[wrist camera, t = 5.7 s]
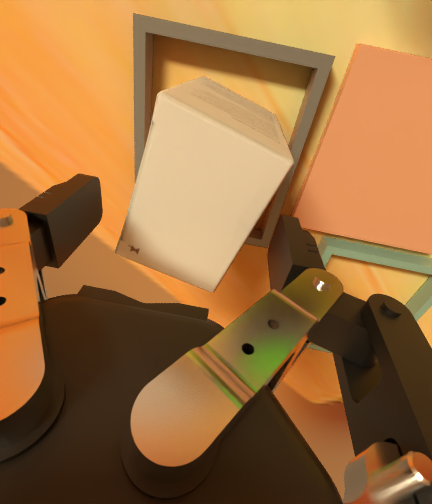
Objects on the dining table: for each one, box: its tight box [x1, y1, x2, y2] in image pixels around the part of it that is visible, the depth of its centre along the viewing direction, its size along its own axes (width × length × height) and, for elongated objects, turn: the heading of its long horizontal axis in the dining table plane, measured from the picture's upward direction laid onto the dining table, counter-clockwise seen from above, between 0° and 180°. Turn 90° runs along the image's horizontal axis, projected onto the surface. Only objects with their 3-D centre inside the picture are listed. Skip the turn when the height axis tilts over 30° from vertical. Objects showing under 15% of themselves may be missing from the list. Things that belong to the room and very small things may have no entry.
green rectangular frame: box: [307, 236, 432, 353], centre depth 27 cm, size 11×13×2 cm
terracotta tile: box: [291, 44, 432, 254], centre depth 19 cm, size 12×12×1 cm
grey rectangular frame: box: [133, 13, 335, 248], centre depth 20 cm, size 11×13×2 cm
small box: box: [115, 76, 294, 292], centre depth 16 cm, size 8×6×10 cm
